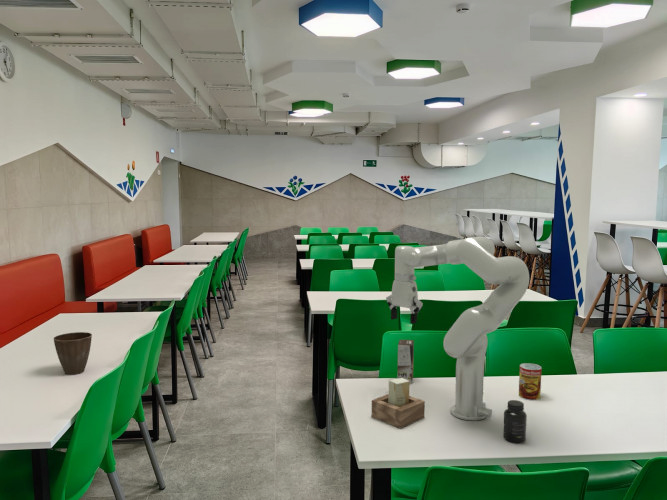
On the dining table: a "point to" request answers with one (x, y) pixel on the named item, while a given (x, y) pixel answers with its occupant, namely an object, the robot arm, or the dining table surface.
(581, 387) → the dining table surface
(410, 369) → the coffee box
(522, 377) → the canned food
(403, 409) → the socket block
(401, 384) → the skincare box
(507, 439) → the supplement bottle
